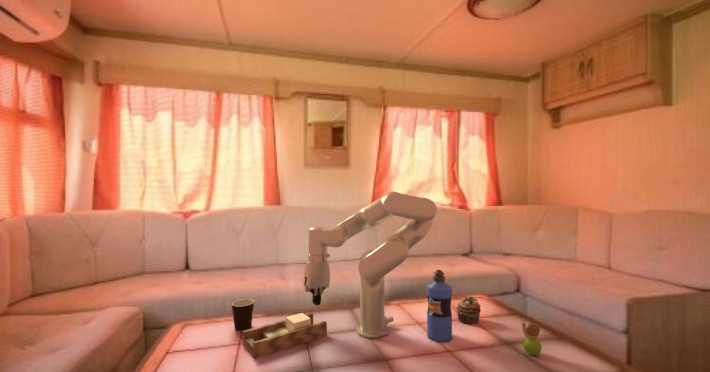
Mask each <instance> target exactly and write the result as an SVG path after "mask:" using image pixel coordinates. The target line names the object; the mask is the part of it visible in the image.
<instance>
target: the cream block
mask: <svg viewBox="0 0 710 372" xmlns="http://www.w3.org/2000/svg"><path fill="white" fill-rule="evenodd" d="M305 314H306V313H305ZM305 314H304V313H303V312H301V313H296V314H292V315H289V316H285V320H286V328H287V329H288V330H289V331H292V330H296V329H299V328H302V327H306V326H309V325H311V318H309V317H308V316H306V315H305Z"/></svg>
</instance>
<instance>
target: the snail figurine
mask: <svg viewBox="0 0 710 372" xmlns="http://www.w3.org/2000/svg"><path fill="white" fill-rule="evenodd" d="M520 320H521V323H520V324H521V328H522V332H523V334H524V337H526V338H525V339H524V341H523V343H522V345H523V346H522V347H523V349H524V351H525V352H526V353H528V354H529V355H531V356H537V355H539V354H540V353H541V352H542V348H543V347H542V344H541V342H540V341H539V340H538V338H539V337H540V332H541V329H540V326H539V325H538V324H537V323H533V322H531V323H529V324H528V325H527V323H526V322H524V321H525V319H524V318H521V319H520Z"/></svg>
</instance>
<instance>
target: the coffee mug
mask: <svg viewBox="0 0 710 372" xmlns="http://www.w3.org/2000/svg"><path fill="white" fill-rule="evenodd" d="M254 304H255V300H254V299H251V298H242V299H237V300H235V301H232V302H231V309H232V310H231V311H232V316H233V325H234V330H236V331H242V332H243V331H245V330H249V329H252V323H253V314H254V307H255V306H254Z"/></svg>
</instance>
